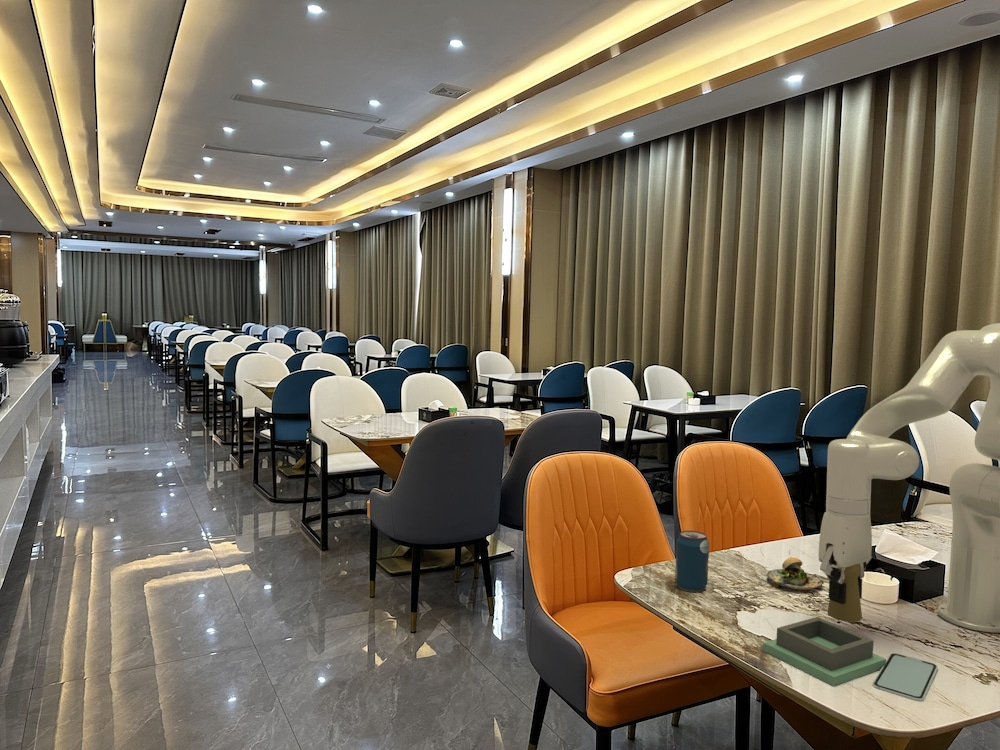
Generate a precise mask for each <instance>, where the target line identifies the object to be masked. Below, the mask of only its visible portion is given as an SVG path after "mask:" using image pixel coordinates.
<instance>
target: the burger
mask: <svg viewBox="0 0 1000 750" xmlns="http://www.w3.org/2000/svg"><path fill="white" fill-rule="evenodd" d="M788 553H789V555H791V553H790V550H788ZM801 566H803V561H802V560H801V559H799V558H797V557H791V556H789V557H788V558H787V559H785V560H784V562H783V563H782V564H781V567H782V568H780V569H778V568H777V569H772V570H770V571H768V572H767V574H766V576H767V578H766V582H767V584H770V586H772V587H773V588H774V589H778V586H782V587H783V588H785V587H786V588H788V589H793V590H805V591H806V590H813V589H816V588H818V587H822V586H823V585H824V584H825V582H824V580H823V579H821V578H820V577H819V576H817V575H816V574H815V575H814V574H812V573H809V572H805V570H804V569H803V568H802V567H801Z"/></svg>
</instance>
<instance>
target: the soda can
mask: <svg viewBox="0 0 1000 750" xmlns="http://www.w3.org/2000/svg"><path fill="white" fill-rule="evenodd" d="M709 556H710V541H709V540H708V536H707V534H706V533H705V532H701V531H698V530H682V531H680V532H679V535H678V537H677V539H676V549H675V570H674V571H675V575H674V577H675V578H674V580H675V583H676V585H677V587H678V588H679V589H680V590H683V591H686V592H690V593H691V592H692V593H698V592H702V591H704V590H705V589H706V588H707V585H708V582H709V581H708V579H709V577H708V576H709V560H710V559H709Z"/></svg>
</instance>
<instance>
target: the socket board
mask: <svg viewBox="0 0 1000 750" xmlns="http://www.w3.org/2000/svg"><path fill="white" fill-rule="evenodd" d="M874 641H875V640H874V639H872V638H870V637H867V636H864V635H862V634H859V633H857V632H855V631H853V630H849V629H848V628H845V627H843V626H841V625H839V624H836V623H833V622H831V621H830V620H829V621H828V620H825V619H823V618H821V617H818V616H816V617H812V618H808V619H805V620H801V621H798V622H794V623H789V624H786V625H783V626H780V627H777V629H776V638H775V639H771V640H768V641H765V642H763V647H762V648H763V649H762V651H763V652H764V653H766V654H769V655H770V656H773V657H775V658H777V659H778V660H780V661H782V662H785V663H786V664H788V665H790V666H793V667H795V668H797V669H798V670H800V671H803V672H805V673H807V674H808V675H810V676H813V677H814V678H816V679H818V680H820V681H822V682H824V683H826V684H828V685H830V686H832V687H835V686H838V685H841V684H843V683H847V682H850V681H852V680H854V679H858V678H860V677H864V676H866V675H869V674H871V673H872V674H873V673H875V672H877V671H880V670H881V668H882V667H883V666H884V665H886V660H887V659H886V658H885V657H882V656H880V655H878V654H875V653H874Z"/></svg>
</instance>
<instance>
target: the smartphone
mask: <svg viewBox="0 0 1000 750" xmlns="http://www.w3.org/2000/svg"><path fill="white" fill-rule="evenodd" d="M938 667H939V666H938V664H936V663H934V662H930V661H926V660H924V659H920V658H915V657H911V656H908V655H904V654H900V653H895V652H892V653H889V655H888V656H887V659H886V665H884V666H883V667H882V668H881V669H880V670H879V672H878V673H877V675H876V676H875V678H874V680H873V681H872V687H874V688H875V689H878V690H880V691H884V692H887V693H889V694H892V695H895V696H896V695H897V696H899V697H903V698H906V699H908V700H913V701H915V702H924V701H925V699H926V696H927V695H928V692H929V690H930V688H931V686H932V683H933V682H934V679H935V678H936V674H937V673H938Z"/></svg>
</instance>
